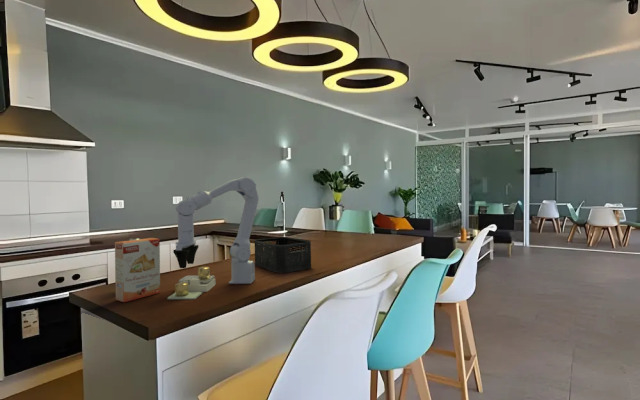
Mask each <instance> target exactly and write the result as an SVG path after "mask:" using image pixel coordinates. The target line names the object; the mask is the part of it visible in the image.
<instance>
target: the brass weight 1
mask: <svg viewBox="0 0 640 400" xmlns="http://www.w3.org/2000/svg"><path fill="white" fill-rule="evenodd" d="M174 285H175V292H176V296H178V297H182V296H187V295H188V294H189V291H188V283H186V282H183V283H181V282H178V283H176V284H174Z"/></svg>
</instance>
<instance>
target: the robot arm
mask: <svg viewBox="0 0 640 400" xmlns="http://www.w3.org/2000/svg"><path fill="white" fill-rule="evenodd" d="M231 191H232V192H233V191H235V192H237V193H238V194H239V195H241V196H242V198H243V199H244V201H245V202H244V206H243V210H242V213H241V218H240V223H239V227H238V231H237V234H236V236H235V237H236V238H235V239H234V240H233V244H232V245H231V246H230V248H229V255H230V256H231V262H230V263H231V265H230V266H231V279H230V281H229V282H228V284H230V285H231V284H232V285H233V284H235V285H236V284H239V285H240V284H249V285H250V284H252V283H253V282H254V281H255V280H256V272H255V271H256V270H255V269H256V268H255V267H256V265H255V260H250V258H251V242H250V237H251V234H252V229H253V226H254V225H253V224H254V220H255V216H256V213H257V208H258V204H259V195H258V191H257V184H256V182H255V181H254V180H253V179H252V178H251V177H249V176H245V177H237V178H236V179H232V180H228V181H227V182H224V183H223V184H221V185H219V186H217V187H215V188H213V189H211V190H210V191H207V190H198V191H197V193H196V194H194V195H192V196H187V197H186V199H185V200H180V201H179V202H178V203H177V204H176V207H175V210H176V213H177V240H178V241H176V242H174V243H175V249H173V250H172V254H174V255H175V258H176V260H177V264H178V267H179V269H186V268H187V264H188V265H193V264H194V263H195V259H196V253H197V251H198V249H199V244H197V242H196V241H197V240H196V239H195V231H194V229H195V228H194V225H195V224H194V223H195V222H194V213H195V211H199V210H200V209H202V208H204V207H206V206H209V205H210V204H212V202H213V201H212V200H213V199H215V198H217V197H220V196H222V195H224V194H226V193H228V192H231Z"/></svg>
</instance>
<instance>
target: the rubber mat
mask: <svg viewBox="0 0 640 400" xmlns="http://www.w3.org/2000/svg"><path fill="white" fill-rule="evenodd" d="M200 295H203V292H189V294H188V295H187V296H182V297H178V296H176V291H175V292H173V294H171V295H169V296H168V297H167V298H166V299H167V300H196V299H197V298H199V297H200Z"/></svg>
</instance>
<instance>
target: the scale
mask: <svg viewBox="0 0 640 400" xmlns="http://www.w3.org/2000/svg"><path fill="white" fill-rule="evenodd" d="M183 282H186V283H188V291H189V292H202V293H208V291H210V290H211V289H212V288H214V287H215V286H216V284H217V283H216V278H213V279H212V280H211V281H209V282H200V279H183ZM183 282H180V283H183Z"/></svg>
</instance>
